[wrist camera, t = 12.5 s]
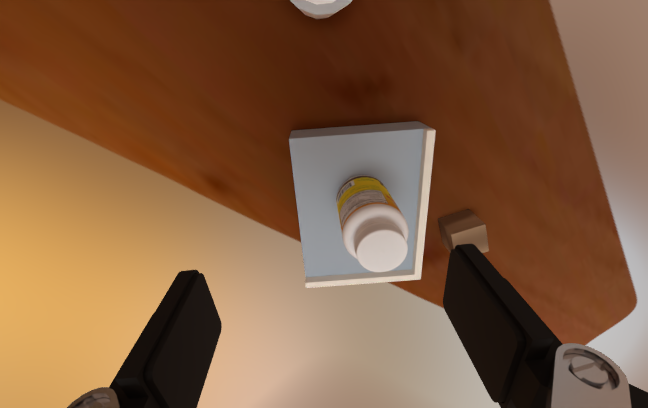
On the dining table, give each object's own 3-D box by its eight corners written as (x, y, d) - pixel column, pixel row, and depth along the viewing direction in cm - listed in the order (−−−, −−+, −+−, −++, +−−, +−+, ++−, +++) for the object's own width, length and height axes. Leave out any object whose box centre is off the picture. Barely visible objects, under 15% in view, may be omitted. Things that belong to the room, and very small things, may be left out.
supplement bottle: (385, 218, 32) (414, 279, 23) (335, 220, 32) (345, 283, 23) (388, 171, 30) (423, 219, 21) (335, 173, 30) (345, 222, 20)
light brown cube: (437, 218, 37) (451, 234, 34) (468, 208, 37) (485, 224, 33) (442, 242, 39) (456, 260, 35) (472, 233, 38) (488, 250, 35)
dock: (291, 130, 32) (288, 141, 27) (418, 121, 32) (435, 130, 27) (306, 262, 39) (306, 288, 35) (408, 255, 39) (420, 279, 35)
